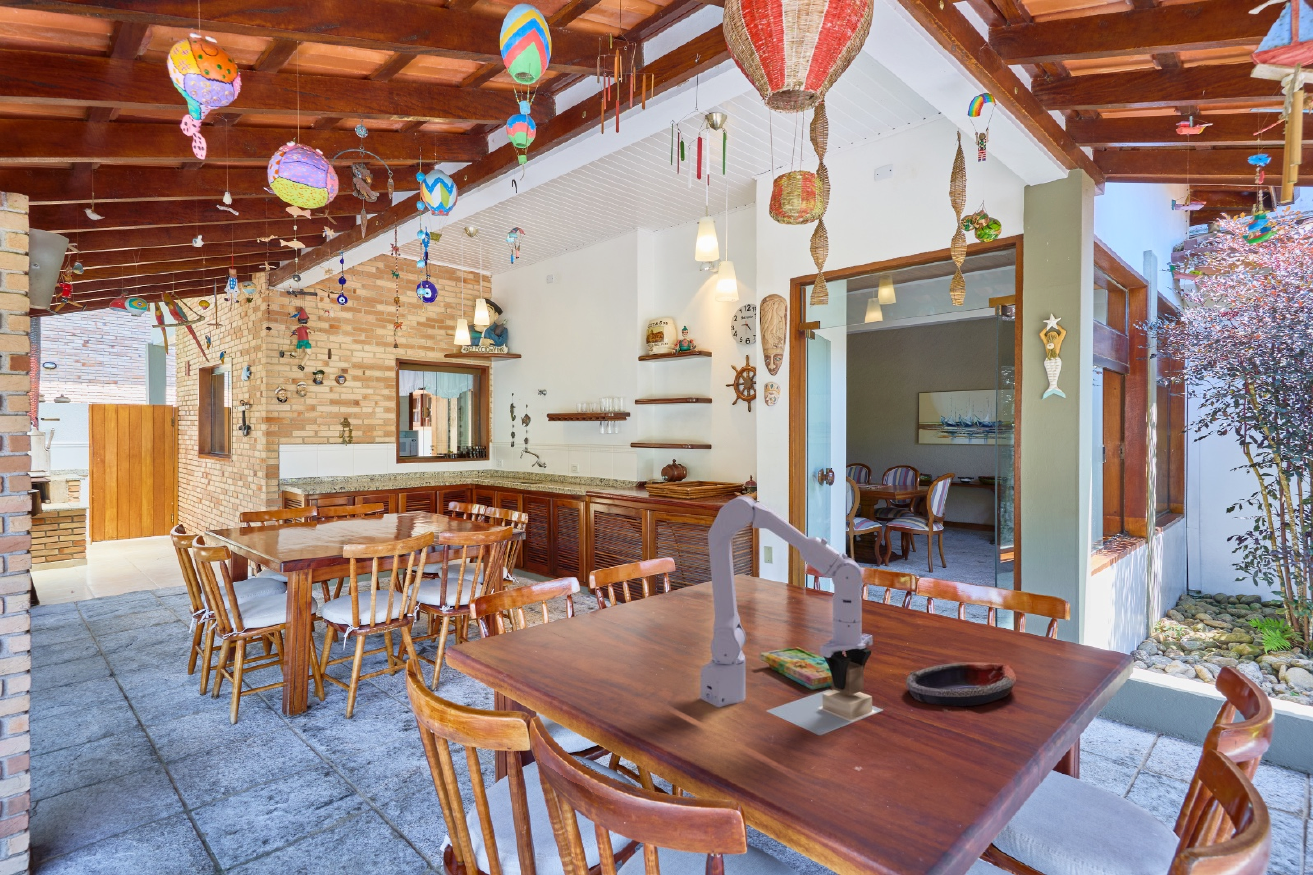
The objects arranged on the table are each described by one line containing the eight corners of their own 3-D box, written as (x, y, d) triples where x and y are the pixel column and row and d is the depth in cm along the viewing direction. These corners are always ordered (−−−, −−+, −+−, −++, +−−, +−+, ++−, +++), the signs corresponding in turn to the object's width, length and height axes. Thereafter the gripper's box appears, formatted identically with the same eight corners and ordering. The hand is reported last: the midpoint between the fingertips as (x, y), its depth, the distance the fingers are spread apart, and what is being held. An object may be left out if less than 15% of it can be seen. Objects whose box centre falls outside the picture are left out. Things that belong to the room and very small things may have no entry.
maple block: (850, 719, 130) (850, 704, 130) (822, 708, 135) (822, 693, 135) (872, 711, 134) (872, 696, 134) (844, 700, 139) (843, 686, 140)
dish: (885, 693, 146) (885, 670, 146) (983, 674, 159) (983, 653, 159) (941, 720, 132) (941, 695, 132) (1044, 696, 145) (1044, 673, 145)
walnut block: (849, 695, 131) (849, 670, 132) (831, 688, 135) (831, 664, 135) (863, 690, 134) (863, 665, 134) (845, 683, 138) (845, 660, 138)
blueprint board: (819, 739, 123) (819, 735, 123) (765, 714, 134) (765, 710, 134) (883, 713, 135) (883, 709, 135) (828, 693, 146) (828, 689, 146)
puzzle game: (811, 675, 145) (759, 649, 163) (811, 696, 145) (759, 668, 163) (852, 667, 150) (797, 643, 168) (852, 688, 150) (797, 661, 168)
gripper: (840, 629, 127) (840, 699, 127) (885, 617, 136) (885, 683, 136) (812, 621, 133) (812, 688, 133) (856, 610, 142) (856, 673, 141)
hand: (847, 685), depth 135 cm, fingers closed on walnut block, 4 cm apart
